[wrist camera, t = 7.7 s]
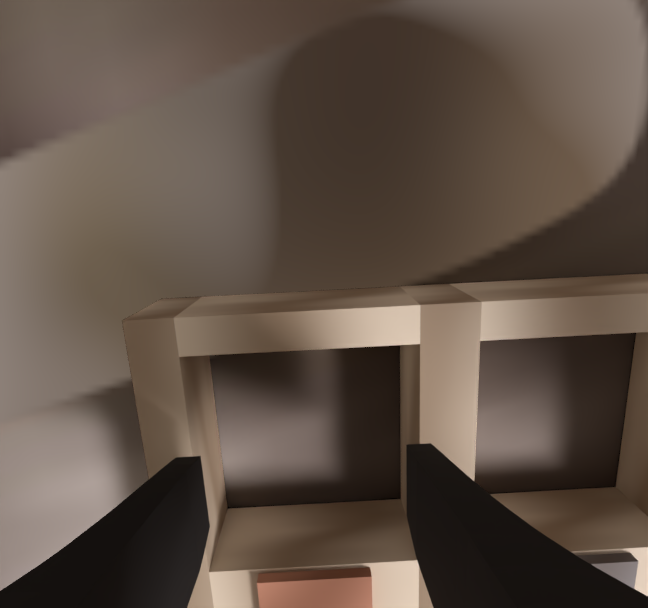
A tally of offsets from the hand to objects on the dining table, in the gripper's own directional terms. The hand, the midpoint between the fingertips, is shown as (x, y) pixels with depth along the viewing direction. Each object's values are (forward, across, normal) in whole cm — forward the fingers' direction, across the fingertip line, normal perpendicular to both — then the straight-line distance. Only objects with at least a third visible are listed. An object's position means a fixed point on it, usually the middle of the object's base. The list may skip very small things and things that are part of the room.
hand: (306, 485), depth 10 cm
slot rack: (+3, -4, +1) cm, 5 cm away
